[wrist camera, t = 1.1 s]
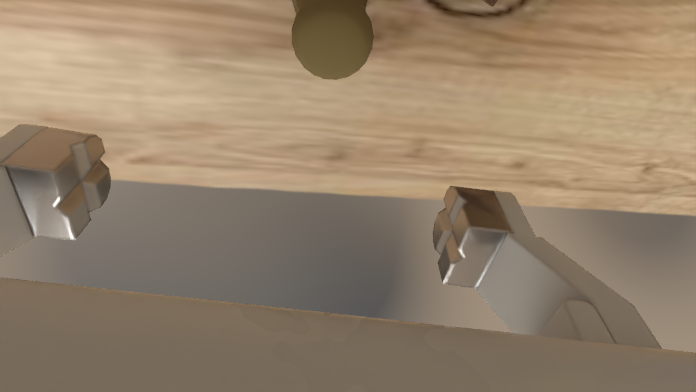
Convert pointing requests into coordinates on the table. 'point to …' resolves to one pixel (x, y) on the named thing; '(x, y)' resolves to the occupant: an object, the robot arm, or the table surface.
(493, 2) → the desk riser
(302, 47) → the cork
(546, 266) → the robot arm
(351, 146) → the table surface
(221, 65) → the table surface
